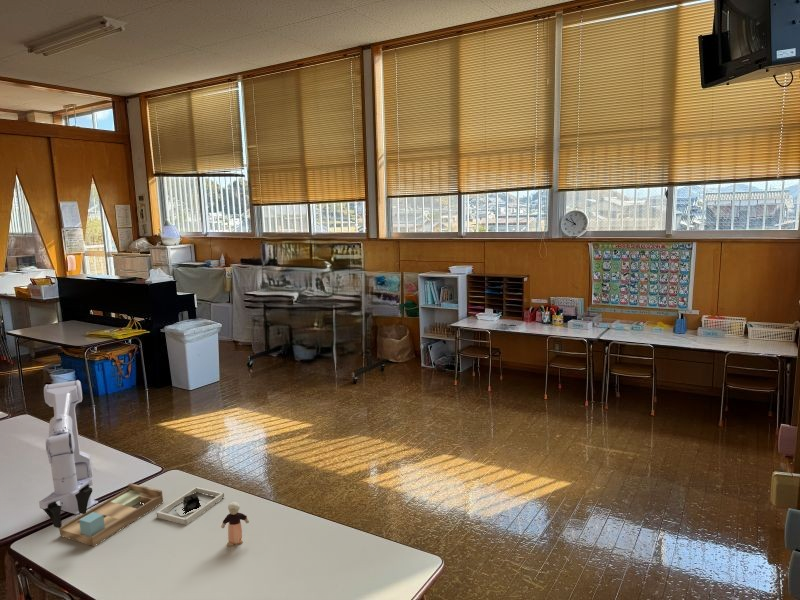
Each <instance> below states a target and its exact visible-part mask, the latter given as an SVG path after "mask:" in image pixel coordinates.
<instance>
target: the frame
mask: <svg viewBox="0 0 800 600" xmlns="http://www.w3.org/2000/svg"><path fill="white" fill-rule="evenodd" d="M195 492H199V493H204V494H208V495H213V496H217V497H213V498H212V499H211V500H210V501H208V502H207V503H206V505H204V506H203V507H201V508H200V509H198V510H197V511H195V512H192V513H190V514H189V515H188V516H187V517H186V518H185V517H181V516H179V515H173V514H170V513H168V512H170V511H171V510H172V509H171V508H173V507H174V506H176V505H177V504H179V503H180V502H182V501H183V500H184V497H186V496H189V495H192V494H193V493H195ZM199 493H198V494H199ZM195 494H196V493H195ZM204 494H203V495H204ZM208 495H207V496H208ZM223 497H224V498H225V494H224V493H223V492H219V491H215V490H212V489H207V488H202V487H198V486H195V487H193V488H192V489H190V490H188V491H187V492H185V493H184V494H183V495H181V496H180V497H178V498H176V499H175V500H173V501H172V502H170V503H169V504H166V505H165V506H163V507H162V508H160V509H159V510H158V511H156V512H155V513H156V518H157V517H158V518H157V519H161V520H165V521H170V522H173V523H176V524H179V525H184V526H187V525H188V524H190V523H191V522H193V521H195V520H196V519H197V518H199V517H200V516H201V515H202V513H203V512H204V511H205V512H207V511H208V510H210V509H211V508H212V507H214V506H215V505H216V504H215V503H216V502H218V501H219V500H221V499H222V498H223ZM222 500H223V499H222ZM222 500H221V501H222ZM219 502H220V501H219ZM219 502H218V503H219ZM182 503H183V502H182ZM180 504H181V503H180ZM180 504H179V505H180ZM214 504H215V505H214ZM213 505H214V506H213ZM177 506H178V505H177ZM177 506H176V507H177ZM211 506H212V507H211ZM210 507H211V508H210ZM174 508H175V507H174ZM174 508H173V509H174ZM209 508H210V509H209ZM170 509H171V510H170ZM207 509H208V510H207ZM169 510H170V511H169ZM206 510H207V511H206ZM167 511H168V512H167ZM205 512H204V513H205ZM204 513H203V514H204ZM200 514H201V515H200ZM199 515H200V516H199ZM195 518H196V519H195Z"/></svg>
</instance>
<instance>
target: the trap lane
mask: <svg viewBox="0 0 800 600" xmlns="http://www.w3.org/2000/svg"><path fill="white" fill-rule="evenodd" d="M127 486H128V488H126V489H124V490H123V491H121V492H120V493H117V494H116V495H114V496H112V497H110V498H109V499H107V500H105V501H104V502H102V503H100V504H98V505H96V506H95V507H93V508H90V509H89V510H86V513H85V514H81V515H80V514H79V516H77V517H75V518H73V519H71V520H70V521H67V522H65V523H64V524H61V527H60V528H58V530H59V535H61V536H64V537H67V538H70V539H73V540H72V541H74V540H75V541H74V542H77V541H78V543H80V542H82V543H81V544H83V543H85V544H84V545H86V544H88V545H87V546H90V545H92V546H91V547H93V546H94V547H96V546H97V545H96V544H98V543H99V544H101V543H102V542H104V541H105V540H107V539H108V537H109V536H110V537H112V536H113V535H115V534H116V533H115V532H117V531H118V532H120V531H121V530H123V529H124V528H126V527H127V525H128V524H129V525H130V523H131V524H132V523H134V522H135V520H136V519H137V520H139V519H140V518H141V516H142V517H144V516H145V515H147V514H148V513H150V512H151V511H153V510H154V509H156V508H157V507H156V506H158V505H159V504H161V503H162V502H163V503H164V498H163V491H162V490H159V489H156V488H153V487H148V486H144V485H140V484H135V483H132V482H130V483H129V484H128V485H127ZM140 502H141V504H140ZM142 503H144V505H143V504H142ZM163 503H162V504H163ZM162 504H161V505H162ZM159 506H160V505H159ZM159 506H158V507H159ZM155 507H156V508H155ZM153 508H154V509H153ZM152 509H153V510H152ZM150 510H151V511H150ZM149 511H150V512H149ZM92 512H95V513H99V514H102V515H103V517H104V525H105V528H104V529H103V530H101V531H100V532H98V533H96V534H95V535H93V536H87V535H84V534H81V530H80V523H79V519H81V518H83V517H85V516H87V515H88V514H90V513H92ZM147 512H148V513H147ZM146 513H147V514H146ZM144 514H145V515H144ZM139 517H140V518H139ZM138 518H139V519H138ZM137 520H136V521H137ZM133 521H134V522H133ZM129 525H128V526H129ZM125 526H126V527H125ZM123 527H124V528H123ZM122 528H123V529H122ZM120 529H121V530H120ZM119 530H120V531H119ZM118 532H117V533H118ZM114 533H115V534H114ZM112 534H113V535H112ZM111 535H112V536H111ZM61 536H60V537H61ZM64 537H63V538H64ZM110 537H109V538H110ZM67 538H66V539H67ZM106 538H107V539H106ZM70 539H69V540H70ZM104 539H105V540H104ZM103 540H104V541H103ZM101 541H102V542H101ZM100 542H101V543H100ZM99 544H98V545H99ZM95 545H96V546H95Z"/></svg>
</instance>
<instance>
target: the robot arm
mask: <svg viewBox="0 0 800 600" xmlns="http://www.w3.org/2000/svg"><path fill="white" fill-rule="evenodd" d="M82 389H83V388H82V383H81V381H80V380H79V379H77V380H73V381H72V380H71V381H65V382H64V381H63V382H58V383H51V384H45V385H44V387H43V397H44V403H45V404H47V405H48V406H49V407H51V408H53V414H54V415H53V417H51V418H50V420H49V426H48V427H49V429H48V430H49V431H48V438H46V439H45V451H46V455H47V458H48V463H49V464H50V467H51V476H52V483H53V490H54V491H52V492H51V493H50V494H48V495H47V496H46V497H44V498H43V499H41V500H39V501H38V503H39V504H38V505H39V509H42V510H43V512H45V513H46V514H47V516H48V517H49V519H50V521H51V522H52V523H51V524H53V527H54V528H57V529H59V528H60V527H61V526H62V518H61V517H62V515H61V514H62V513H61V512H62V511H63V512H67V513H71V514H74V515H80V514H81V515H82V514H85V513H86V512H87V511H88V510H87V509H91V507H93V506H94V505H96V504H99V501H98V500H94V499H93V498H92V493H93V488H92V487H91V486H93V479H92V477H94V476H93V475H94V469H93V462H92V458H91V455H90V454H89V453H88V452H87V453H86V452H84V451H82V450H81V447H80V438H79V431H78V422H77V415H76V406H77V404H79V403H82V401H83V390H82ZM57 502H59V505H58V503H57Z"/></svg>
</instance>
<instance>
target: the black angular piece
mask: <svg viewBox="0 0 800 600" xmlns="http://www.w3.org/2000/svg"><path fill="white" fill-rule="evenodd" d="M199 501H201V500H200V498H199V495H197V493H195V494H192V495H189V496H186V497H184V500H183V502H182V505H183V507H184V508H183V507H182V508H183V509H184V510H183V509H182V510H183V511H185V512H184V513H185V514H186V513H187V512H189V511H191V510H193V509H197V508H199V507H201V505H200V503H199ZM184 513H183V514H184Z"/></svg>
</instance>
